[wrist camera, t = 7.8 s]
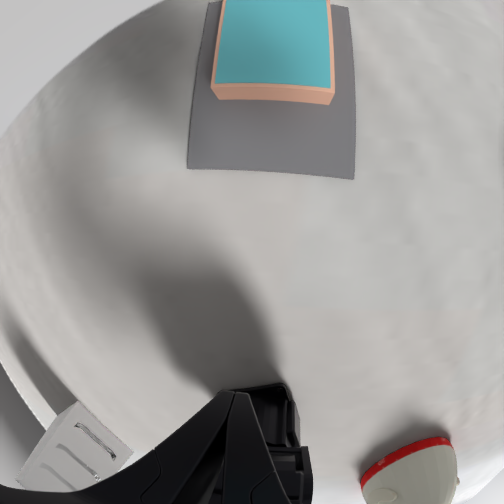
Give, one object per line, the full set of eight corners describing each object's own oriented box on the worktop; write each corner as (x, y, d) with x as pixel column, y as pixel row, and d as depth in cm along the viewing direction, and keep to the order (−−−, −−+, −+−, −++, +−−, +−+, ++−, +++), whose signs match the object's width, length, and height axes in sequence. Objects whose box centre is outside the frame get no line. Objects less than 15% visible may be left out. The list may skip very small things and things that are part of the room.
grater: (134, 451, 28) (75, 551, 8) (103, 459, 30) (52, 537, 10) (78, 400, 27) (-5, 490, 7) (57, 415, 29) (-9, 486, 9)
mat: (352, 179, 18) (354, 179, 18) (189, 169, 20) (187, 168, 19) (347, 10, 15) (348, 7, 15) (210, 5, 16) (209, 2, 16)
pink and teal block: (335, 92, 15) (328, -10, 13) (209, 86, 15) (224, -12, 13) (329, 105, 17) (325, 8, 15) (219, 99, 18) (230, 5, 16)
